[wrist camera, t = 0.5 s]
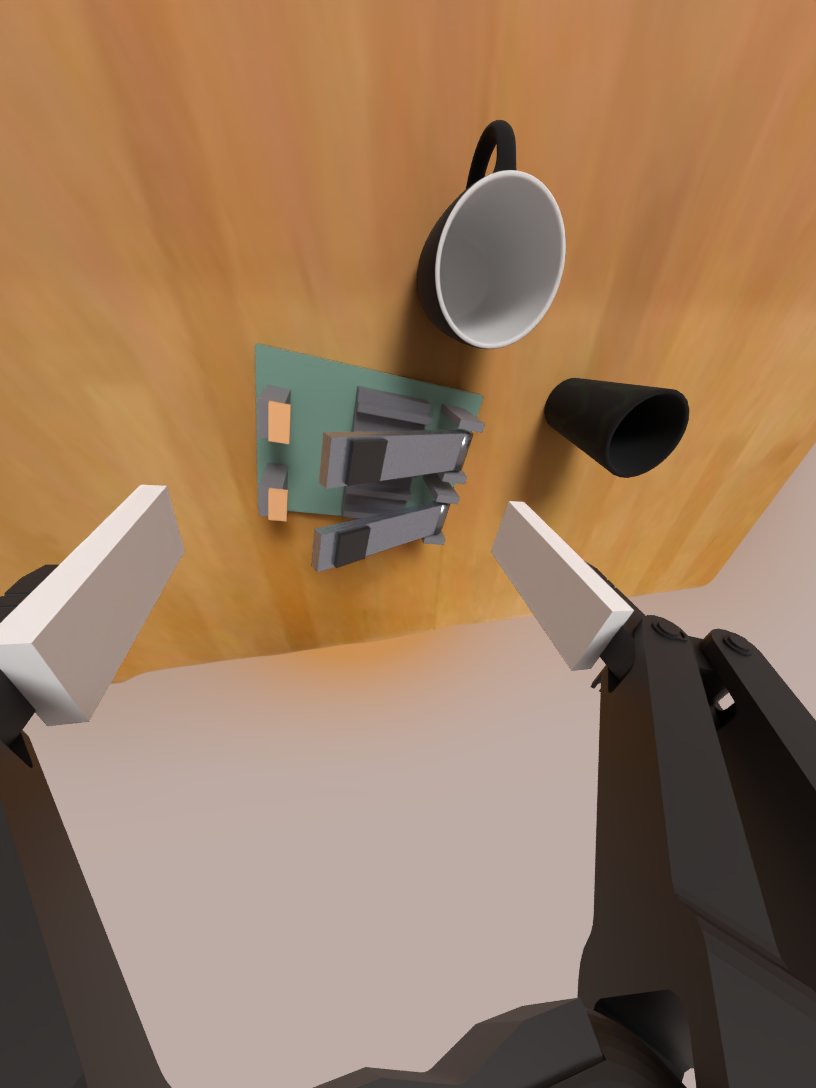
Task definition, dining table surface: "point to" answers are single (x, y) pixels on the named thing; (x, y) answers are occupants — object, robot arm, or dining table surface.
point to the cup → (619, 422)
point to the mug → (493, 251)
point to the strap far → (375, 534)
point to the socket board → (345, 406)
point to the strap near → (389, 455)
